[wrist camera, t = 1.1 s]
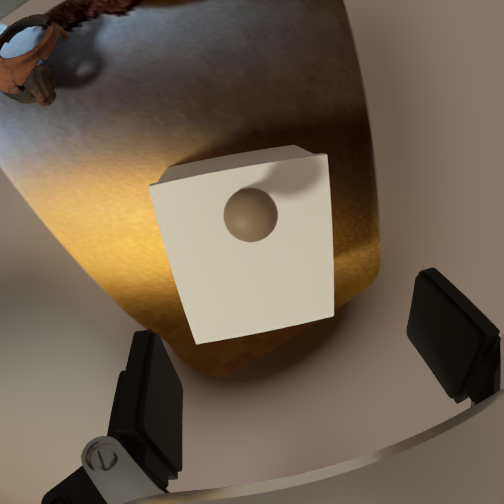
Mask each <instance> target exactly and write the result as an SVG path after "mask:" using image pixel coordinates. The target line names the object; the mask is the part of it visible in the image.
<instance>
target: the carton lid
mask: <svg viewBox="0 0 504 504" xmlns="http://www.w3.org/2000/svg"><path fill="white" fill-rule="evenodd" d="M148 187H149V191H150V195H151V199H152V203H153V206H154V210H155V214H156V218H157V221H158V225H159V229H160V232H161V236H162V239H163V243H164V246H165V250H166V253H167V257H168V260H169V263H170V267H171V270H172V273H173V276H174V280H175V283H176V286H177V289H178V292H179V295H180V298H181V301H182V305H183V308H184V311H185V314H186V317H187V319H188V322H189V325H190V328H191V331H192V334H193V337H194V340H195V342H196V344H200V343H206V342H212V341H218V340H223V339H229V338H234V337H240V336H245V335H250V334H255V333H260V332H265V331H270V330H275V329H280V328H284V327H289V326H293V325H298V324H302V323H307V322H311V321H315V320H319V319H323V318H327V317H332V316H334V264H333V234H332V213H331V196H330V182H329V169H328V157H327V154H325V153H321V154H313V155H305V156H297V157H290V158H283V159H277V160H270V161H264V162H258V163H252V164H246V165H240V166H235V167H229V168H224V169H218V170H213V171H208V172H203V173H198V174H193V175H189V176H184V177H179V178H175V179H170V180H166V181H161V182H157V183H153V184H150V185H149V186H148Z"/></svg>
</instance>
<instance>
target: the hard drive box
mask: <svg viewBox="0 0 504 504" xmlns="http://www.w3.org/2000/svg"><path fill="white" fill-rule="evenodd" d="M27 1H29V0H0V20H1V19H3V18H4V17H6V16H7V15H8V14H10V13H11V12H13V11H14V10H16V9H17V8H18V7H20V6H21V5H23V4H24V3H26V2H27Z"/></svg>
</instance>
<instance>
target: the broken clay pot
mask: <svg viewBox="0 0 504 504" xmlns="http://www.w3.org/2000/svg"><path fill="white" fill-rule="evenodd" d="M43 24H44V25H47V26H49V27H48V28H47V32H46V34H45V36H44V38H43V39H42V40H41V41H40V42H39V43H38V44H37V45H36V46H35V47H34V48H33V49H32V50H30V51H28V52H27V53H25V54H23V55H20V56H18V57H15V58H8V59H6V58H3V57H1V55H0V90H1V91H2V92H3V93H4V94H5V95H6V96H8V97H9V98H11V99H14V100H16V101H18V102H20V103H27V104H28V103H33V102H36V101H38V103H39V104H40V105H41V106H46V105H50V104H51V103H52V102H53V101H54V100H55V98H56V93H55V91H54V87H55V86H56V83H57V81H56V79H55V78H54V77H53V72H52V69H51V68H50V67H49V66H47V65H45V64H40V65H38V66H37V64H38V62H39V61H40V59H42V60H47V58H48V57H49V55H50V54H51V52H52V51H53V49H54V48H55V45H56V43H57V41H58V39H59V37H60V34H61V35H62V37H63V38H64V39H65V40H67V39H68V36H67V33H66V32H65V31H64V29H63V28H62V27H61V26H59V24H56V23H54V22H52V21H51V18H50V17H49V16H47V15H42V14H37V15H32V16H29V17H25V18H23V19H20V20H19V21H17V22H15V23H14V24H12V25H11V26H9V27H8V28H7V29H6V30H5V31H4V32H3V33H2V34H1V35H0V50H1V48H2V46H3V45H4V43H5V42H7V43H9V42H10V40H11V39H12V37H13V36H15V35H16V34H17V33H19V32H21V31H23V30H24V29H26V28H27V27H33V26H37V25H43ZM22 85H24V87H26V88H25V89H23V88H22V87H21V86H22Z"/></svg>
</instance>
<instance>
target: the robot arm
mask: <svg viewBox="0 0 504 504" xmlns="http://www.w3.org/2000/svg"><path fill="white" fill-rule="evenodd" d="M499 332H500V331H499V329H498V328H496V326H495V325H494V324H493V323H492V322H491V321H490V320H489V319H488V318H487V317H486V316H485V315H484V314H483V313H482V312H481V311H480V310H479V309H478V308H477V307H476V306H475V305H474V304H473V303H472V302H471V301H470V300H469V299H468V298H467V297H466V296H465V295H464V294H463V293H462V292H461V291H459V290H458V289H457V288H456V287H455V286H454V285H453V284H452V283H451V282H450V281H449V280H447V278H445V277H444V276H443V275H442V274H441V273H440V272H439V271H438V270H437V269H435V268H429V269H425V270H422V271H420V272H419V274H418V276H417V277H416V279H415V285H414V292H413V298H412V304H411V309H410V315H409V320H408V325H407V336H408V338H409V340H410V341H411V342H412V344H413V345H414V347H415V348H416V349H417V351H418V352H419V354H420V355H421V356H422V358H423V359H424V361H425V362H426V363H427V365H428V366H429V368H430V369H431V371H432V372H433V374H434V375H435V377H436V378H437V380H438V381H439V383H440V384H441V385H442V387H443V389H444V390H445V392H446V393H447V395H448V396H449V397H450V398H453V399H454V400H455V402H456V403H457V404H458V403H460V402H462V401H463V400H465V399H467V398H468V397H469V398H470V399H471V407H470V408H469V409H467V410H465V411H464V412H462V413H460V414H458V415H457V416H454V417H453V418H451V419H449V420H447V421H445V422H443V423H441V424H439V425H437V426H434V427H432V428H431V429H428V430H426V431H424V432H422V433H419V434H417V435H415V436H413V437H410V438H408V439H406V440H403V441H401V442H399V443H396V444H394V445H391V446H389V447H386V448H383V449H381V450H378V451H375V452H372V453H370V454H367V455H364V456H361V457H358V458H355V459H352V460H349V461H346V462H342V463H339V464H336V465H332V466H329V467H326V468H321V469H318V470H314V471H310V472H306V473H302V474H298V475H293V476H289V477H285V478H279V479H274V480H269V481H263V482H257V483H251V484H245V485H239V486H231V487H223V488H214V489H205V490H193V491H184V492H174V493H170V492H169V490H168V489H167V486H168V480H174V479H178V472H179V471H182V409H183V388H182V384H181V381H180V379H179V377H178V375H177V373H176V371H175V369H174V367H173V364H172V363H171V360H170V358H169V356H168V354H167V351H166V349H165V347H164V345H163V343H162V340H161V338H160V336H159V334H158V333H153V331H152V330H150V329H149V330H143V331H136V332H135V333H134V336H133V340H132V344H131V349H130V353H129V357H128V362H127V366H126V370H125V371H122V372H121V373H120V375H119V378H118V383H117V387H116V392H115V397H114V402H113V406H112V411H111V417H110V422H109V427H108V433H107V436H101V437H97V438H95V439H93V440H91V441H90V442H89V443H88V444H86V446H85V448H84V449H83V452H82V455H81V459H82V464H83V466H81V467H80V468H79V469H77V470H76V471H75V472H74V473H72V474H71V475H70V476H68V477H67V478H66V479H64V480H63V481H62V482H61V483H59V484H58V485H56V486H55V487H54V488H52V489H51V490H50V491H49V492H47V493H46V494H45V495H44V497H43V499H42V502H41V504H504V335H503V336H502V337H501V338H500V337H499V335H498V334H499Z"/></svg>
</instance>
